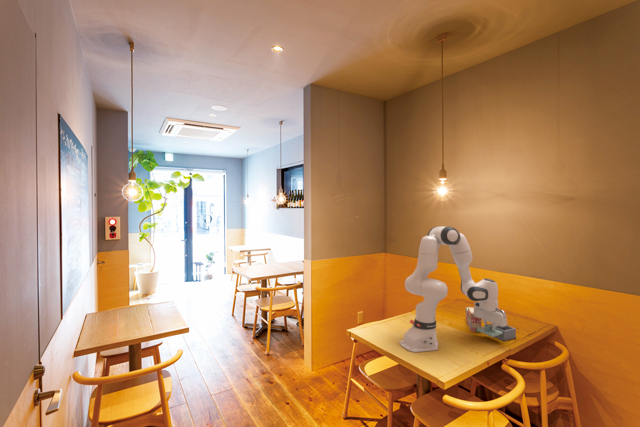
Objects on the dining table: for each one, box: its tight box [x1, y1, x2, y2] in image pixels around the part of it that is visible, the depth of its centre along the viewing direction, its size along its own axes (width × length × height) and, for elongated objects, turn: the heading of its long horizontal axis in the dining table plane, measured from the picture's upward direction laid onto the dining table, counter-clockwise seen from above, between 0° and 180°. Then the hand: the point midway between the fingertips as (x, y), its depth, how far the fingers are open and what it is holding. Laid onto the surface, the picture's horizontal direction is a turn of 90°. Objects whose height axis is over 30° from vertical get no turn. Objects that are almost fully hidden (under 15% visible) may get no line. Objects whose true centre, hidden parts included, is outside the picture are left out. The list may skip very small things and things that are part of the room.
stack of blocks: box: [465, 306, 483, 333], centre depth 209 cm, size 21×6×12 cm, turn 163°
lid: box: [477, 323, 503, 338], centre depth 187 cm, size 10×8×5 cm
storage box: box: [494, 324, 517, 342], centre depth 191 cm, size 10×8×6 cm
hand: (489, 328), depth 187 cm, fingers closed on lid, 3 cm apart
